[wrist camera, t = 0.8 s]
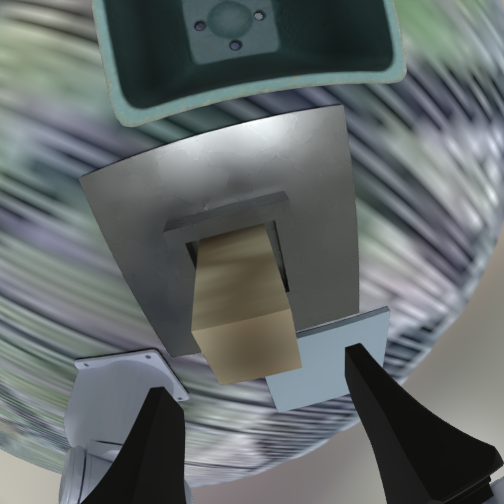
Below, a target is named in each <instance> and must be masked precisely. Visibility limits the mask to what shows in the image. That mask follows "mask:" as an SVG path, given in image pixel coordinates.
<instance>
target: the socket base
mask: <svg viewBox="0 0 504 504" xmlns="http://www.w3.org/2000/svg"><path fill="white" fill-rule="evenodd" d="M79 180H80V183H81V185H82V188H83V190H84V193H85V195H86V198H87V200H88V202H89V205H90V207H91V209H92V212H93V214H94V216H95V218H96V221H97V223H98V225H99V227H100V229H101V232H102V234H103V236H104V238H105V240H106V242H107V244H108V246H109V248H110V250H111V252H112V254H113V256H114V258H115V260H116V262H117V264H118V266H119V268H120V270H121V272H122V274H123V276H124V278H125V280H126V282H127V283H128V285H129V287H130V289H131V291H132V293H133V294H134V296H135V298H136V300H137V302H138V303H139V305H140V307H141V309H142V310H143V312H144V314H145V315H146V317H147V319H148V321H149V322H150V324H151V326H152V327H153V329H154V331H155V332H156V334H157V335H158V337H159V339H160V340H161V342H162V343H163V345H164V347H165V348H166V350H167V351H168V353H169V354H170V356H171V357H177V356H183V355H188V354H194V353H199V352H202V351H201V349H200V347H199V345H198V344H197V342H196V340H195V338H194V336H193V334H192V332H191V327H192V313H193V301H194V289H195V278H196V267H197V257H198V247H199V240H200V239H203V238H207V237H211V236H215V235H218V234H222V233H226V232H230V231H234V230H238V229H242V228H246V227H249V226H253V225H257V224H261V223H264V225H265V228H266V232H267V235H268V238H269V241H270V244H271V247H272V250H273V253H274V257H275V260H276V263H277V266H278V269H279V272H280V276H281V279H282V282H283V285H284V288H285V292H286V295H287V298H288V301H289V305H290V308H291V312H292V317H293V322H294V327H295V331H297V330H301V329H305V328H308V327H312V326H316V325H319V324H323V323H326V322H330V321H333V320H337V319H340V318H343V317H347V316H350V315H353V314H356V313H359V257H358V235H357V218H356V205H355V193H354V183H353V173H352V164H351V156H350V148H349V141H348V133H347V127H346V120H345V114H344V108H343V105H341V104H336V105H329V106H323V107H316V108H310V109H304V110H299V111H293V112H288V113H283V114H278V115H273V116H268V117H263V118H259V119H254V120H250V121H246V122H242V123H237V124H233V125H229V126H226V127H222V128H218V129H214V130H211V131H207V132H203V133H200V134H197V135H193V136H190V137H187V138H183V139H180V140H177V141H174V142H171V143H167V144H164V145H161V146H158V147H155V148H153V149H150V150H147V151H144V152H141V153H138V154H136V155H133V156H130V157H128V158H125V159H122V160H120V161H117V162H115V163H112V164H110V165H107V166H105V167H102V168H100V169H97V170H95V171H93V172H90V173H88V174H86V175H83V176H82V177H80V178H79Z"/></svg>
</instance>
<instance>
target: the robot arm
mask: <svg viewBox="0 0 504 504" xmlns="http://www.w3.org/2000/svg"><path fill="white" fill-rule="evenodd" d="M74 364H75V366H76V367H77V368H78V369H79V371H78V374H77V377H76V380H75V383H74V386H73V389H72V393H71V396H70V399H69V403H68V406H67V409H66V413H65V419H64V426H65V433H66V436H67V439H68V441H69V443H70V445H71V446H72V447H73V448H71V449H69V451H68V453H67V456H66V460H65V463H64V467H63V472H62V477H61V483H60V490H59V504H194V499H193V494H192V492H191V489H190V487H189V486H188V484H187V482H186V480H185V479H184V459H185V421H184V410H183V409H182V408H181V407H180V405H179V404H178V403H177V402H176V401H185V400H188V399H189V394H188V393H187V391H186V390H185V389H184V387H183V386H182V385H181V383H180V382H179V380H178V379H177V378H176V376H175V375H174V374H173V372H172V371H171V369H170V368H169V366H168V365H167V364H166V362H165V361H164V359H163V358H162V356H161V355H160V353H159V352H158V351H157V350H154V349H153V350H146V351H139V352H133V353H126V354H119V355H112V356H105V357H97V358H89V359H80V360H76V361H75V363H74ZM345 380H346V383H347V386H348V389H349V392H350V395H351V399H352V401H353V403H354V405H355V408H356V410H357V412H358V415H359V417H360V419H361V421H362V424H363V426H364V428H365V430H366V433H367V435H368V437H369V440H370V442H371V445H372V448H373V451H374V454H375V457H376V461H377V464H378V468H379V471H380V476H381V479H382V483H383V488H384V492H385V496H386V501H387V504H504V476H503V477H502V478H500V479H498V480H496V481H494V482H493V483H491V484H489V482H491V478H490V475H491V474H492V473H494V472H495V471H497V470H498V469H499V468H500V467H502V466H503V464H504V462H503V460H502V458H501V456H500V454H499V452H498V451H497V449H496V448H495V447H494V446H492V445H490V444H487V443H485V442H482V441H480V440H478V439H476V438H473V437H471V436H470V435H468V434H466V433H464V432H462V431H460V430H459V429H457V428H455V427H453V426H451V425H450V424H448V423H447V422H445V421H443V420H442V419H441V418H439V417H438V416H436V415H435V414H433V413H432V412H431V411H429V410H428V409H427V408H425V407H424V406H423V405H421V404H420V403H419V402H418V401H417V400H415V399H414V398H413V397H412V396H411V395H409V393H407V392H406V391H405V390H404V389H403V388H402V387H401V386H400V385H399V384H398V383H397V382H396V381H395V380H394V379H393V378H392V377H391V376H390V375H389V374H388V373H387V372H386V371H385V370H384V369H383V368H382V367H381V366H380V365H379V364H378V362H377V361H376V360H375V359H374V358H373V357H372V356H371V354H370V353H369V352H368V351H367V350H366V348H365V347H364V346H363V344H361V343H357V344H354V345H351V346H348V347H345Z"/></svg>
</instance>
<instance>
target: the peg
mask: <svg viewBox="0 0 504 504" xmlns="http://www.w3.org/2000/svg"><path fill="white" fill-rule="evenodd" d="M191 332H192V334H193V336H194V338H195V340H196V342H197V344H198V345H199V347H200V349H201V351H202V353H203V355H204V356H205V358H206V360H207V362H208V364H209V365H210V367H211V369H212V371H213V372H214V374H215V376H216V378H217V379H218V381H219V383H220V385H227V384H232V383H237V382H242V381H247V380H252V379H257V378H262V377H266V376H271V375H275V374H279V373H283V372H287V371H292V370H295V369H299V368H302V364H301V358H300V353H299V348H298V343H297V337H296V332H295V327H294V322H293V317H292V312H291V308H290V305H289V301H288V298H287V295H286V292H285V288H284V285H283V282H282V279H281V276H280V272H279V269H278V266H277V263H276V260H275V257H274V253H273V250H272V247H271V244H270V241H269V238H268V235H267V232H266V228H265V225H264V223H261V224H257V225H253V226H249V227H246V228H242V229H238V230H234V231H230V232H226V233H222V234H218V235H215V236H211V237H207V238H203V239H200V240H199V247H198V257H197V267H196V278H195V289H194V301H193V313H192V327H191Z"/></svg>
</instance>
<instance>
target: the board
mask: <svg viewBox="0 0 504 504" xmlns="http://www.w3.org/2000/svg"><path fill="white" fill-rule="evenodd" d="M389 317H390V310H389V308H388V307H384V308H381V309H378V310H375V311H372V312H369V313H365V314H362V315H359V316H356V317H353V318H349V319H346V320H343V321H339V322H336V323H333V324H329V325H326V326H322V327H319V328H315V329H311V330H308V331H304V332H300V333H296V337H297V343H298V348H299V353H300V358H301V364H302V368H299V369H295V370H292V371H287V372H283V373H279V374H275V375H271V376H266V377H265V378H266V381H267V384H268V386H269V389H270V392H271V394H272V397H273V400H274V402H275V405H276V408H277V410H278V412H283V411H287V410H291V409H295V408H299V407H303V406H307V405H311V404H315V403H319V402H322V401H326V400H329V399H333V398H336V397H339V396H343V395H346V394H349V393H350V392H349V389H348V386H347V383H346V380H345V347H348V346H351V345H354V344H357V343H361V344H363V346H364V347H365V348H366V350H367V351H368V352H369V353H370V354H371V356H372V357H373V358H374V359H375V360H376V361H377V362H378V364H379V365H380V366H381V367H382V366H383V360H384V354H385V348H386V341H387V333H388V325H389Z"/></svg>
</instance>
